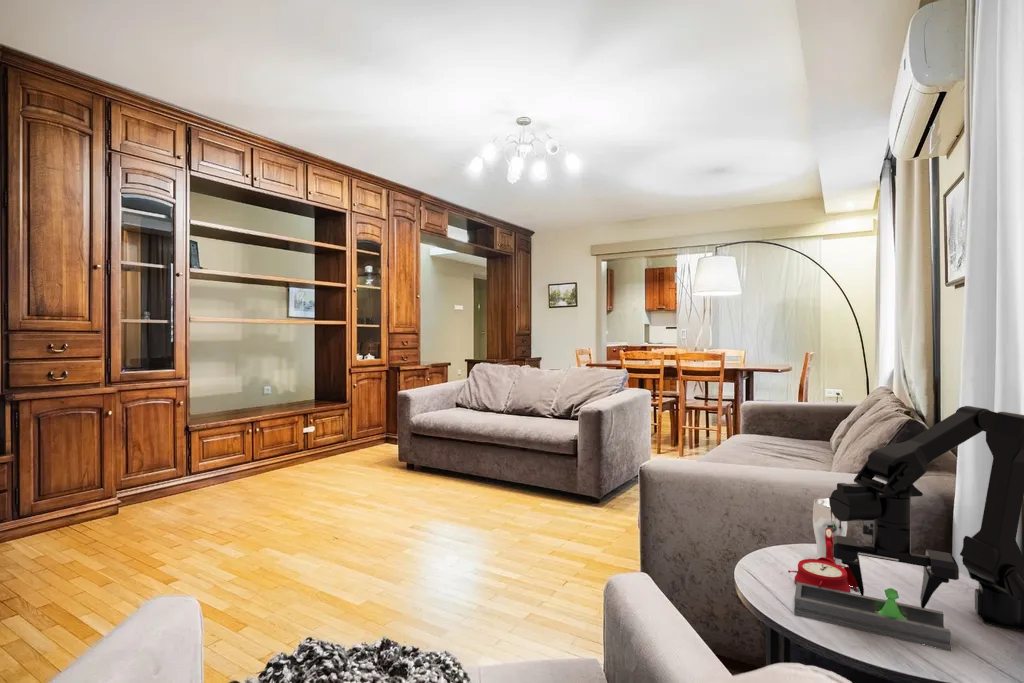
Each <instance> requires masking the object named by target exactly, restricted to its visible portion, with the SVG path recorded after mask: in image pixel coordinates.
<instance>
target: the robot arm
mask: <svg viewBox="0 0 1024 683" xmlns="http://www.w3.org/2000/svg"><path fill="white" fill-rule="evenodd" d="M981 432H985V442H986V445H987V447H988V448H989V451H990V453H991V455H992V462H991V469H990V474H989V480H988V485H987V491H986V497H985V503H984V507H983V514H982V520H981V525H980V529H979V530H978V531H977V532H976V533H975V534H974V535H972V536H969V535H965V536H964V537H963V540H962V544H963V545H962V549H961V551H960V553H959V556H961V557H962V565H963V566H964V567H965V569H966V570H967V572H968V575H969V577H970V579H971V580H972V581H973V580H974V581H976V582H978V588H975V589H974V610H975V612H976V614H977V615H978V616H979V617H980V619H981V621H982V623H984V624H986V625H989V626H990V625H991V626H996V627H1000V628H1005V629H1010V630H1013V631H1019V632H1024V556H1023V554H1022V551H1021V548H1020V547H1019V544H1018V542H1017V534H1018V528H1019V522H1020V519H1021V518H1020V517H1021V512H1022V506H1023V502H1024V501H1023V500H1024V414H1021V413H1020V414H1019V413H1013V412H1007V411H997V412H995V411H992V410H990V409H988V408H983V407H977V406H972V405H964V406H961V407H958V408H957V409H956V411H955V412H954V413H953V414H951V415H949V416H947V417H946V418H944V419H943V420H941V421H939V422H938V423H936V424H934V425H932V426H931V427H928V428H927V429H926V430H924V431H922V432H921V433H919V434H917V435H915V436H913V437H912V438H911V439H909V440H906V441H903V442H898V443H897V442H896V443H892V444H887V445H885V446H882V447H879V448H876V449H874V450H873V451H871V452H870V453H869V454H868V456H867V460H866V462H865V464H864V465H863V466H862V467H861V469H860V470H859V472H858V473H857V475H856V476H855V477H854V478H853V482H854V483H845V482H837V483H836V489H834V490H833V491H832V492H831V495H830V497H829V498H828V499H829V504H830V508H831V511H832V513H833V515H834V516H835V517H836V518H837V519H838V520H839V521H842V522H843V521H847V522H861V521H862V522H861V523H862V525H861V527H862V528H861V529H862V530H861V531H862V535H864V536H865V535H866V536H871V544H872V546H869V545H863V544H858V540H857V538H856V537H850V536H846V537H845V536H839V535H836V536H835V537H834V538H833V554H834V558H836V559H841V563H842V564H845V566H846V565H847V567H849V568H850V570H851V572H852V574H853V576H854V578H855V580H856V583H857V586H858V587H857V588H858V590H859V592H860V593H859V595H861V596H865V589H864V582H863V576H862V570H861V569H862V568H861V563H860V557H859V556H861V557H868V558H872V559H873V558H874V559H879V560H885V561H889V562H896V563H902V564H907V565H914V566H919V567H923V576H922V584H921V590H920V596H919V597H920V598H919V599H920V607H921V608H926V606H927V604H928V603H929V601H930V599H931V597H932V596H933V594H934V593H935V591H936V590H937V589H938V588H939V587H940V585H941V584H943V583H945V584H948V583H950V580H952V581H957V580H960V579H959V578H960V577H959V576H960V569H959V564H958V563H957V561H956V559H955V558H954V556H953V555H952V554H951V553H950V552H944V551H938V550H932V549H926V550H925V555H923V554H917V553H913V552H911V551H912V549H911V548H912V539H911V538H912V530H911V529H912V521H911V519H912V518H911V516H912V513H911V512H912V506H911V505H912V504H911V503H912V502H911V501H912V500H911V499H912V497H914V498H915V497H923V495H924V493H923V492H922V491H920V490H919V489H918V488H917V487H916V486H915V485H914V484H915V483H916V482H917V481H918V480H920V478H922V477H923V476H924V475H925V474H926V473H927V470H928V467H929V465H930V464H931V463H932V462H934V461H935V460H936V459H938V458H940V457H941V456H943V455H945V454H947V453H948V452H950V451H951V450H954V449H955V448H956V447H958V446H960V445H961V444H963V443H965V442H966V441H968V440H969V439H971V438H973V437H975V436H977V435H978V434H980V433H981ZM874 478H876V479H874ZM877 479H878V480H877ZM879 480H880V481H879ZM882 481H884V482H882ZM885 482H886V483H885Z"/></svg>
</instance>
